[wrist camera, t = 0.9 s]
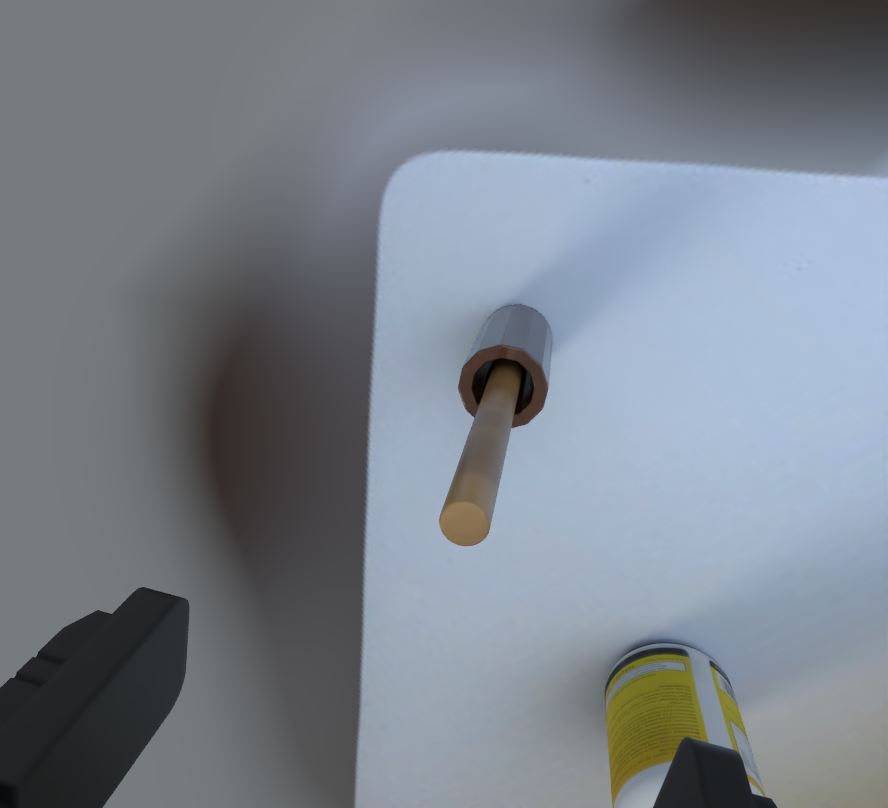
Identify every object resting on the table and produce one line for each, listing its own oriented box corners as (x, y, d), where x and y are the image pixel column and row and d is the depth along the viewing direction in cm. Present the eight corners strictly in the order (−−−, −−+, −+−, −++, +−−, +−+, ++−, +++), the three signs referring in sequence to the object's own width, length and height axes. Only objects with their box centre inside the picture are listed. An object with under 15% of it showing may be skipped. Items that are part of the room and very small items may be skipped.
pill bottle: (578, 680, 38) (582, 895, 27) (669, 614, 35) (713, 820, 24) (663, 753, 38) (700, 989, 28) (758, 692, 36) (838, 925, 25)
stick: (498, 334, 31) (431, 508, 16) (524, 327, 31) (480, 497, 16) (506, 359, 31) (448, 551, 16) (531, 352, 31) (496, 541, 16)
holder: (472, 316, 32) (447, 359, 25) (540, 295, 31) (532, 335, 24) (494, 379, 32) (474, 438, 26) (560, 361, 32) (557, 416, 25)
